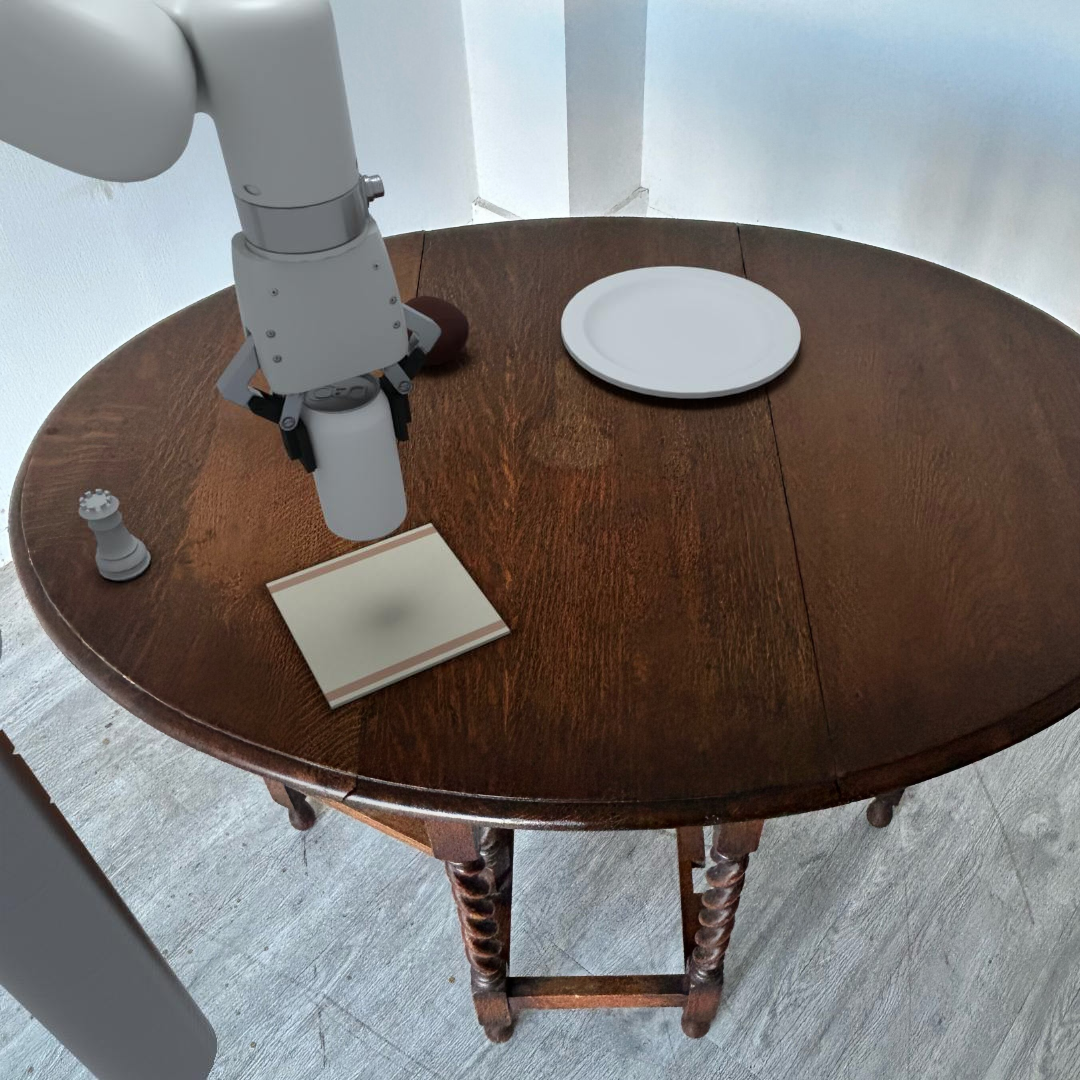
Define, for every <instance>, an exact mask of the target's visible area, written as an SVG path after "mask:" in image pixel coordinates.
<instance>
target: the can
mask: <svg viewBox="0 0 1080 1080" xmlns="http://www.w3.org/2000/svg"><path fill="white" fill-rule="evenodd" d="M299 417H300V418H301V420H302V421H303V423H304V424H305V425H306V427H307V430H308V434H309V438H310V442H311V446H312V450H313V454H314V458H315V462H316V466H317V469H315V472H312V477H313V480H314V484H315V488H316V492H317V496H318V500H319V504H320V508H321V512H322V515H323V518H324V522H325V525H326V527H327V528H328V529H329V531H330V532H331V533H332V534H334V535H336V536H338V537H340V538H342V539H344V540H346V541H349V542H350V541H351V542H358V543H359V542H360V543H365V542H373V541H377V540H380V539H383V538H385V537H387V536H390V535H391V534H392V533H394V532H395V531H396V530H398V528H399V527H400V526H401V525H402V523H403V522H404V521H405V519H406V517H407V513H408V506H407V505H408V504H407V500H406V492H405V487H404V486H405V485H404V480H403V475H402V469H401V463H400V456H399V450H398V446H397V445H398V444H397V438H396V437H395V433H394V427H393V421H392V416H391V410H390V405H389V401H388V398H387V396H386V395H385V393H384V392H383V391H382V389H381V388H380V382H379V378H378V377H377V376H376V375H375V374H373V372H370V373H366V374H363V375H360V376H356V377H353V378H350V379H347V380H343V381H340V382H337V383H333V384H330V385H326V386H323V387H320V388H316V389H313V390H310V391H306V392H305V394H304V398H303V402H302V406H301V410H300V414H299Z"/></svg>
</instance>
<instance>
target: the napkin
mask: <svg viewBox="0 0 1080 1080" xmlns="http://www.w3.org/2000/svg"><path fill="white" fill-rule="evenodd" d="M265 586H266V589H267V590H268V592H269V594H270V596H271V598H272V599H273V601H274V603H275V605H276V607H277V609H278V611H279V613H280V615H281V616H282V618H283V620H284V622H285V624H286V626H287V628H288V630H289V631H290V634H291V635H292V637H293V639H294V641H295V643H296V645H297V647H298V648H299V651H300V652H301V654H302V656H303V658H304V660H305V662H306V663H307V666H308V667H309V670H310V671H311V673H312V675H313V677H314V679H315V680H316V682H317V685H318V686H319V689H320V690H321V692H322V694H323V696H324V697H325V699H326V702H327V703H328V705H329V707H330V709H331V710H335V709H337V708H340V707H341V706H343V705H346V704H348V703H350V702H351V703H352V702H353V701H355V700H358V699H360V698H363V697H364V696H367V695H370V694H372V693H374V692H376V691H379V690H381V689H383V688H385V687H387V686H391V685H392V684H395V683H398V682H400V681H402V680H405V679H407V678H408V677H411V676H413V675H416V674H419V673H421V672H423V671H425V670H427V669H430V668H432V667H435V666H437V665H439V664H442V663H444V662H446V661H449V660H451V659H453V658H456V657H458V656H460V655H462V654H465V653H468V652H470V651H472V650H474V649H476V648H479V647H481V646H483V645H485V644H489V643H490V642H493V641H495V640H497V639H499V638H502V637H505V636H508V635H509V634H511V630H510V628H509V627H508V626H507V624H506V623H505V621H504V620H503V619H502V618H501V616H500V614H499V613H498V612H497V610H496V609H495V608H494V607H493V605H492V604H491V603H490V601H489V600H488V598H487V597H486V596H485V594H484V593H483V592H482V590H481V589H480V588H479V586H478V585H477V583H476V582H475V581H474V580H473V578H472V577H471V575H470V573H468V571H467V570H466V568H465V567H464V566H463V564H462V563H461V562H460V561H459V559H458V557H457V556H456V555H455V554H454V552H453V551H452V549H451V548H450V547H449V546H448V544H447V543H446V541H445V539H444V538H443V537H442V536H441V535H440V533H439V532H438V530H437V529H436V527H435V526H434V525H433V524H432V523H431V522H430V523H427V524H425V525H422V526H419V527H416V528H414V529H413V528H412V529H410V530H407V531H406V532H403V533H399V534H398V535H394V536H392V537H389V538H386V539H383V540H381V541H379V542H376V543H373V544H370V545H367V546H365V547H362V548H360V549H357V550H354V551H351V552H349V553H346V554H343V555H340V556H338V557H335V558H332V559H330V560H327V561H324V562H321V563H319V564H317V565H313V566H311V567H308V568H305V569H303V570H300V571H298V572H294V573H292V574H289V575H287V576H283V577H281V578H279V579H276V580H273V581H270V582H268V583H266V584H265Z"/></svg>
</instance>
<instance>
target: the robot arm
mask: <svg viewBox="0 0 1080 1080" xmlns="http://www.w3.org/2000/svg"><path fill="white" fill-rule="evenodd" d="M334 18H335V17H334V14H333V8H332V6H331V3H330V0H0V141H1V142H3V143H6V144H8V145H10V146H12V147H14V148H16V149H19V150H21V151H23V152H25V153H27V154H29V155H31V156H33V157H36V158H38V159H39V160H42V161H45V162H47V163H49V164H52V165H54V166H56V167H58V168H61V169H63V170H66V171H69V172H72V173H74V174H77V175H81V176H84V177H88V178H92V179H95V180H100V181H103V182H111V183H123V184H127V183H138V182H145V181H147V180H150V179H154V178H156V177H158V176H161V175H162V174H163V173H164V172H167V171H168V170H170V169H171V168H172V167H173V166H174V165H175V164H176V163H177V162H178V161H179V160H180V158H181V157H182V156H183V154H184V153H185V151H186V148H187V147H188V144H189V142H190V139H191V136H192V131H193V128H194V123H195V115H196V114H198V113H202V114H205V115H207V116H209V117H210V118H211V119H212V121H213V123H214V126H215V130H216V134H217V139H218V143H219V146H220V150H221V154H222V157H223V161H224V165H225V168H226V169H225V170H226V173H227V177H228V180H229V184H230V188H231V192H232V195H233V200H234V204H235V207H236V211H237V212H236V213H237V216H238V219H239V223H240V228H241V230H242V231H238V232H236V233H235V234H234V235H233V236H232V237H231V240H230V241H231V242H230V243H231V247H230V249H231V261H232V262H231V263H232V273H233V275H232V276H233V280H234V281H233V282H234V289H235V295H236V301H237V305H238V310H239V315H240V320H241V325H242V330H243V335H244V339H245V340H244V342H243V343H242V345H241V346H240V348H239V349H238V351H237V352H236V353H235V355H234V356H233V358H232V360H230V362H229V363H228V365H227V367H226V368H225V370H224V371H223V372H222V374H221V375H220V377H219V378H218V380H217V382H216V388H217V389H218V391H219V393H220V395H221V396H222V398H224V399H225V400H227V401H229V402H231V403H233V404H235V405H237V406H239V407H241V408H243V409H247V410H249V411H251V412H252V414H253V415H255V416H258V417H260V418H263V419H265V420H267V421H269V422H272V423H274V424H277V425H278V428H279V431H280V436H281V439H282V442H283V447H284V450H285V452H286V454H287V456H288V457H289V459H290V461H291V462H293V461H297V460H298V461H299V462H300V464H301V465H302V467H303V469H304V470H305V472H306V473H307V474H311V473H312V472H315V469H317V466H316V462H315V458H314V454H313V450H312V446H311V442H310V438H309V434H308V430H307V427H306V425H305V424H304V423H303V421H302V420H301V418H300V417H299V414H300V410H301V406H302V402H303V398H304V394H305V392H306V391H310V390H313V389H316V388H320V387H323V386H326V385H330V384H333V383H337V382H340V381H343V380H347V379H350V378H353V377H356V376H360V375H363V374H366V373H373V372H376V371H379V370H380V371H381V372H382V373H383V374H382V376H380V377H378V380H379V382H380V388H381V389H382V391H383V392H384V393H385V395H386V396H387V398H388V401H389V405H390V410H391V416H392V421H393V427H394V433H395V438H396V440H397V441H398V442H401V443H404V442H407V441H410V435H409V428H408V423H409V424H410V423H412V422H413V418H412V412H411V405H410V399H409V393H411V391H412V390H413V388H414V386H413V385H414V383H413V380H414V379H415V377H416V376H417V375H418V373H419V372H420V370H421V369H422V368H423V367H424V366H425V365H424V363H425V361H426V355H427V353H428V352H430V351H431V349H432V347H433V346H434V344H435V343H436V341H437V340H438V338H439V337H440V335H441V328H440V327H439V326H438V325H437V324H436V323H435V322H434V321H433V320H432V319H430V318H429V317H427V316H425V315H423V314H421V313H420V312H418V311H416V310H414V309H412V308H411V307H409V306H407V305H405V304H404V302H402V300H401V299H402V298H401V295H400V291H399V288H398V283H397V279H396V276H395V273H394V269H393V266H392V263H391V259H390V256H389V253H388V250H387V247H386V244H385V241H384V238H383V236H382V233H381V230H380V228H379V226H378V223H377V221H376V220H375V219H374V218H373V216H372V213H370V212H369V211H370V210H369V208H370V203H372V202H373V203H374V201H375V199H380V198H383V197H385V195H386V193H385V185H384V183H383V180H382V178H381V176H380V175H379V174H373V175H367V174H363V175H362V174H361V172H360V170H359V164H358V156H357V151H356V146H355V139H354V133H353V127H352V122H351V116H350V115H351V114H350V109H349V104H348V97H347V96H348V95H347V90H346V84H345V78H344V72H343V66H342V59H341V53H340V48H339V41H338V35H337V28H336V24H335V19H334ZM407 329H408V330H410V331H412V332H413V333H412V336H411V337H410V341H408V334H407ZM260 369H261V371H262V374H263V376H264V378H265V379H266V381H267V385H268V386H269V388H270V389H269V393H268V392H266V391H264V390H262V389H260V388H257V387H252V386H250V385H249V383H250V382H251V381H252V379H253V378H254V377H255V375H256V373H257V372H258V371H259V370H260ZM312 474H313V473H312Z"/></svg>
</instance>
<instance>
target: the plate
mask: <svg viewBox="0 0 1080 1080" xmlns="http://www.w3.org/2000/svg"><path fill="white" fill-rule="evenodd" d="M785 302H786V301H785ZM785 302H784V300H783V299H781V298H780V297H779V296H778V295H776V294H775V293H773V291H770V290H769V289H767V288H765V287H763V286H762V285H760V284H758V283H755V282H753V281H751V280H749V279H747V278H744V277H740V276H737V275H734V274H731V273H727V272H723V271H718V270H714V269H708V268H703V267H695V266H694V267H692V266H680V265H677V266H676V265H675V266H674V265H671V266H670V265H668V266H667V265H666V266H650V267H641V268H636V269H635V268H634V269H629V270H625V271H621V272H617V273H614V274H611V275H608V276H605V277H603V278H600V279H598V280H596V281H594V282H593V283H590V284H589V285H587V286H585V287H584V288H583V289H581V290H580V291H578V292H577V293H576V294H575V295H574V296H573V297H572V298H571V299H570V300H569V301H568V303H567V304H566V307H565V309H563V313H562V316H561V319H560V329H561V330H560V332H561V338H562V342H563V345H564V347H565V349H566V350H567V352H568V354H569V355H570V357H572V358H573V359H574V360H575V361H576V363H577V364H578V365H580V366H581V367H582V368H583V369H585V370H586V371H587V372H589V373H590V374H592V375H594V376H595V377H597V378H599V379H601V380H603V381H605V382H607V383H609V384H612V385H614V386H617V387H619V388H622V389H625V390H628V391H632V392H636V393H640V394H643V395H648V396H649V395H650V396H655V397H661V398H671V399H672V398H673V399H708V398H717V397H725V396H730V395H734V394H740V393H743V392H747V391H749V390H753V389H755V388H758V387H759V386H762V385H765V384H767V383H769V382H770V381H772V380H773V379H775V378H777V377H778V376H779V375H781V374H782V373H784V372H785V371H786V370H787V369H788V368H789V367H790V366H791V365H792V363H794V360H795V358H796V357H797V355H798V353H799V349H800V345H801V340H802V336H801V335H802V334H801V327H800V323H799V321H798V318H797V316H796V315H795V313H794V311H793V310H792V309H791V307H790V306H789V305H787V303H785Z"/></svg>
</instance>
